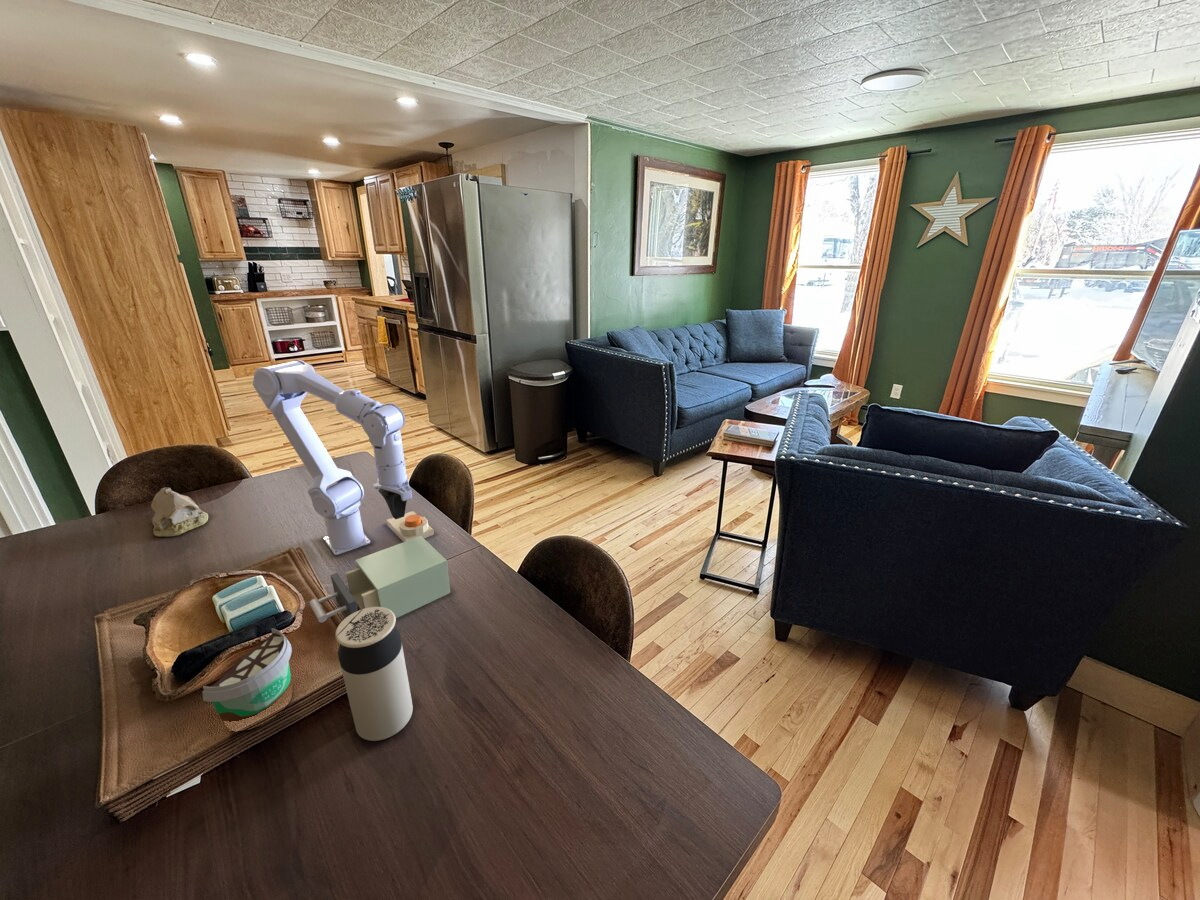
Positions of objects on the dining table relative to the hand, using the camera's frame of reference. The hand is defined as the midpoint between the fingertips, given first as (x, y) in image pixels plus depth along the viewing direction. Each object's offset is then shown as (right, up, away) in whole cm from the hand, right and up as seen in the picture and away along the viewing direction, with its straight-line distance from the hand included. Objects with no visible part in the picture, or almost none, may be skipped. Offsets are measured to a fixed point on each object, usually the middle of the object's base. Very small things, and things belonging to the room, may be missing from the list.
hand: (398, 516), depth 106 cm
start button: (-1, -3, +11) cm, 12 cm away
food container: (-5, -25, -33) cm, 42 cm away
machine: (+5, -15, -8) cm, 17 cm away
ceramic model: (-62, -4, +14) cm, 64 cm away
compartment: (-1, -16, -13) cm, 21 cm away
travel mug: (+13, -26, -34) cm, 45 cm away
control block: (-3, -5, +14) cm, 15 cm away
